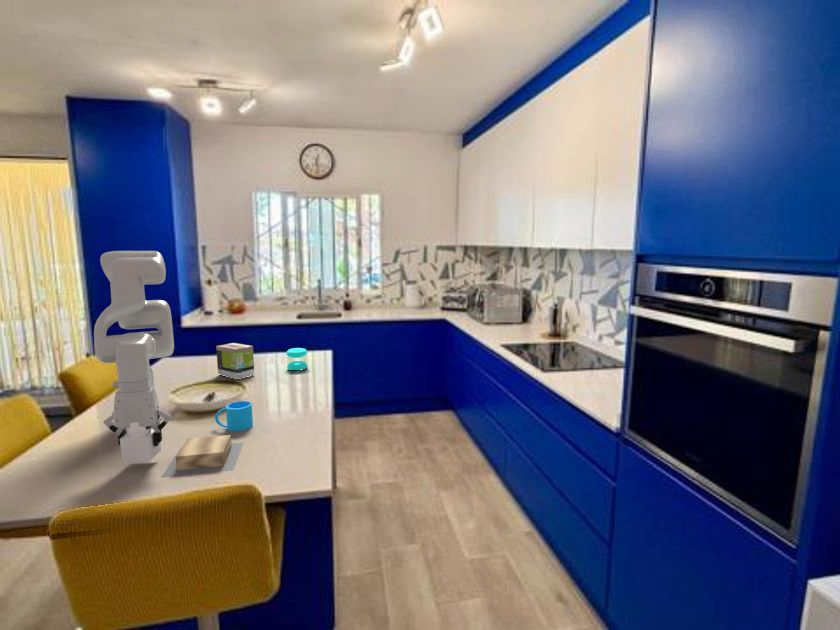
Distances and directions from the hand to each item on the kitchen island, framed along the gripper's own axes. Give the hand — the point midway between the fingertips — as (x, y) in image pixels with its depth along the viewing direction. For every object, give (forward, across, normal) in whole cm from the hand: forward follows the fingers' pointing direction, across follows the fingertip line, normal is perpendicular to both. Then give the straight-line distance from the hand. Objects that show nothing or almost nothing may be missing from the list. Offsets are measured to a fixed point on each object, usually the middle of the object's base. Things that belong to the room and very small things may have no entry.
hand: (141, 445), depth 126 cm
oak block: (+6, +16, 0) cm, 17 cm away
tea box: (+9, +10, +90) cm, 91 cm away
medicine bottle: (+4, 0, 0) cm, 4 cm away
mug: (+7, +20, +23) cm, 32 cm away
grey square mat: (+6, +16, 0) cm, 17 cm away
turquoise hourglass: (+9, +38, +96) cm, 104 cm away
